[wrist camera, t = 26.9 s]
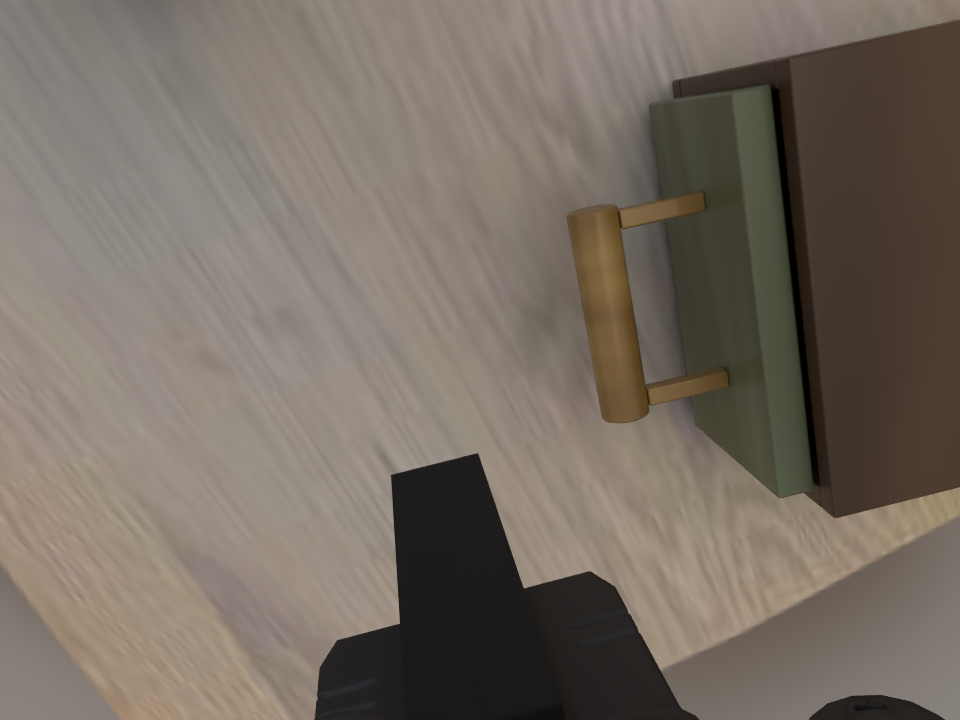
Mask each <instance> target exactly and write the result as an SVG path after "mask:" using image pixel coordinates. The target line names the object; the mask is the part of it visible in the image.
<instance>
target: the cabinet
mask: <svg viewBox="0 0 960 720" xmlns="http://www.w3.org/2000/svg"><path fill="white" fill-rule="evenodd" d="M760 85H770V86H771V93H772V98H775V97H779V99H780V108H781V118H782V127H783V137H784V146H785V156H786V166H787V175H788V185H789V194H790V204H791V213H792V223H793V232H794V242H795V251H796V261H797V270H798V280H799V289H800V299H801V308H802V318H803V328H804V337H805V347H806V356H807V366H808V375H809V385H810V394H811V404H812V413H813V423H814V432H815V435H814V434H813V433H811V432H810V431H808V438H809V447H810V457H811V466H812V475H813V485H814V489H813V490H812V491H808V492H804V494H806V495H807V496H808V497H809V498H811V499H812V500H813V501H814V502H815V503H817V504H818V505H819V506H820V507H822V508H823V509H824V510H825V511H826V512H828V513H829V514H830V515H831V516H833V517H834V518H839V517H843V516H847V515H851V514H855V513H859V512H863V511H867V510H870V509H874V508H878V507H882V506H886V505H890V504H894V503H898V502H902V501H906V500H910V499H914V498H918V497H922V496H926V495H930V494H934V493H938V492H942V491H946V490H950V489H954V488H958V487H960V20H956V21H951V22H946V23H942V24H937V25H932V26H927V27H923V28H918V29H913V30H909V31H904V32H899V33H895V34H890V35H885V36H881V37H876V38H871V39H866V40H862V41H857V42H852V43H848V44H843V45H838V46H834V47H829V48H824V49H820V50H815V51H810V52H805V53H801V54H796V55H791V56H787V57H782V58H777V59H773V60H768V61H763V62H758V63H754V64H749V65H744V66H740V67H735V68H730V69H726V70H721V71H716V72H712V73H707V74H702V75H697V76H693V77H688V78H683V79H679V80H674V81H673V90H674V97H675V98H678V97H685V96H692V95H699V94H706V93H712V92H719V91H726V90H733V89H740V88H746V87H753V86H760Z"/></svg>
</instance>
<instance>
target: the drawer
mask: <svg viewBox="0 0 960 720" xmlns="http://www.w3.org/2000/svg"><path fill="white" fill-rule="evenodd" d="M649 110H650V117H651V124H652V131H653V138H654V145H655V152H656V158H657V165H658V172H659V179H660V186H661V193H662V199H661V200H656V201H652V202H647V203H643V204H638V205H634V206H629V207H625V208H620V209H617V206H616V205H613V204H606V205H598V206H592V207H587V208H582V209H579V210H575V211H572V212H570V213H568V214H567V222H568V228H569V233H570V239H571V245H572V250H573V256H574V262H575V267H576V273H577V279H578V284H579V290H580V296H581V301H582V307H583V313H584V319H585V324H586V330H587V336H588V341H589V347H590V353H591V358H592V364H593V370H594V375H595V381H596V387H597V392H598V398H599V404H600V409H601V415H602V418H603V420H604V421H606V422H610V423H627V422H632V421H636V420H639V419H641V418H643V417H645V416H646V415H647V414H648V413H649V405H651V406H652V405H656V404H660V403H664V402H669V401H673V400H677V399H681V398H685V397H690V396H691V400H692V407H693V414H694V421H695V425H696V426H697V427H698V428H700V429H701V430H702V431H703V432H704V433H705V434H706V435H707V436H709V437H710V438H711V439H712V440H713V441H714V442H715V443H717V444H718V445H719V446H720V447H721V448H722V449H723V450H725V451H726V452H727V453H728V454H729V455H730V456H731V457H733V458H734V459H735V460H736V461H737V462H738V463H739V464H741V465H742V466H743V467H744V468H745V469H746V470H747V471H749V472H750V473H751V474H752V475H753V476H754V477H755V478H757V479H758V480H759V481H760V482H761V483H762V484H763V485H765V486H766V487H767V488H768V489H769V490H770V491H771V492H772V493H774V494H775V495H776V496H777V497H778V498H784V497H788V496H792V495H796V494H800V493H804V492H808V491H812V490H813V489H814V485H813V475H812V466H811V457H810V447H809V438H808V431H810V432H811V433H813V434H814V435H815V432H814V423H813V413H812V404H811V394H810V385H809V375H808V366H807V356H806V347H805V337H804V328H803V318H802V308H801V299H800V289H799V280H798V270H797V261H796V251H795V242H794V232H793V223H792V213H791V204H790V194H789V185H788V175H787V166H786V156H785V146H784V137H783V127H782V118H781V108H780V99H779V97H775V98H772V93H771V86H770V85H760V86H753V87H746V88H740V89H733V90H726V91H719V92H712V93H706V94H699V95H692V96H685V97H678V98H674V99H669V100H664V101H660V102H655V103H651V104H650V105H649ZM662 220H665V221H666V227H667V234H668V241H669V248H670V255H671V262H672V269H673V276H674V283H675V290H676V296H677V303H678V310H679V317H680V324H681V331H682V338H683V345H684V352H685V359H686V365H687V372H688V375H685V376H680V377H676V378H672V379H668V380H664V381H659V382H655V383H651V384H647V385H645V380H644V373H643V367H642V361H641V354H640V348H639V342H638V336H637V329H636V323H635V317H634V311H633V304H632V298H631V292H630V286H629V279H628V273H627V267H626V260H625V254H624V248H623V242H622V235H621V229H627V228H631V227H635V226H640V225H644V224H649V223H653V222H658V221H662ZM620 228H621V229H620ZM648 404H649V405H648Z"/></svg>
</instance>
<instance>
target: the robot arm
mask: <svg viewBox="0 0 960 720" xmlns="http://www.w3.org/2000/svg"><path fill="white" fill-rule="evenodd" d="M391 482H392V498H393V515H394V531H395V548H396V564H397V581H398V597H399V613H400V624H397V625H394V626H390V627H386V628H382V629H378V630H375V631H371V632H367V633H363V634H359V635H355V636H352V637H348V638H344V639H340V640H337V641H336V643H335V645H334V646H333V648H332V649H331V651H330V652H329V654H328V655H327V657H326V659H325V660H324V662H323V663H322V665H321V666H320V670H319V681H318V691H317V696H318V700H317V702H316V713H315V719H314V720H699V719H698V718H697V717H696V716H695V715H693V714H691V713H689V712H687V711H685V710H683V709H682V708H681V707H680V706H679V704H678V702H677V700H676V699H675V697H674V695H673V693H672V691H671V689H670V687H669V686H668V684H667V682H666V680H665V678H664V676H663V674H662V673H661V671H660V669H659V667H658V665H657V663H656V662H655V660H654V658H653V656H652V654H651V652H650V650H649V649H648V647H647V645H646V643H645V641H644V639H643V637H642V636H641V634H640V633H639V632H638V628H637V626H636V625H635V623H634V621H633V619H632V617H631V615H630V614H628V610H627V608H626V606H625V604H624V602H623V600H622V599H621V597H620V595H619V593H618V591H617V589H616V588H615V586H613V585H611V584H610V583H608V582H607V581H605V580H603V579H602V578H600V577H598V576H597V575H595V574H594V573H592V572H590V571H589V572H585V573H581V574H578V575H574V576H570V577H566V578H562V579H558V580H555V581H551V582H547V583H543V584H539V585H536V586H532V587H528V588H523V585H522V582H521V579H520V576H519V573H518V570H517V567H516V564H515V561H514V558H513V555H512V552H511V550H510V547H509V544H508V541H507V538H506V535H505V532H504V529H503V526H502V523H501V520H500V517H499V514H498V511H497V508H496V505H495V502H494V499H493V496H492V493H491V490H490V487H489V484H488V481H487V478H486V475H485V472H484V469H483V467H482V464H481V461H480V458H479V455H478V453H477V454H473V455H469V456H465V457H461V458H457V459H453V460H449V461H445V462H441V463H437V464H433V465H429V466H425V467H421V468H417V469H413V470H409V471H405V472H401V473H397V474H393V475H391ZM809 720H945V719H943V718H942V717H940V716H939V715H937V714H935V713H933V712H931V711H929V710H927V709H925V708H923V707H921V706H919V705H917V704H915V703H913V702H911V701H906V700H901V699H896V698H892V697H888V696H883V695H865V696H850V697H847V698H844V699H840V700H838V701H834V702H831V703H828V704H826V705H825V706H824V707H823V708H821V709H820V710H819V711H817V712H816V713H815V714H814V715H812V717H810V719H809Z"/></svg>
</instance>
